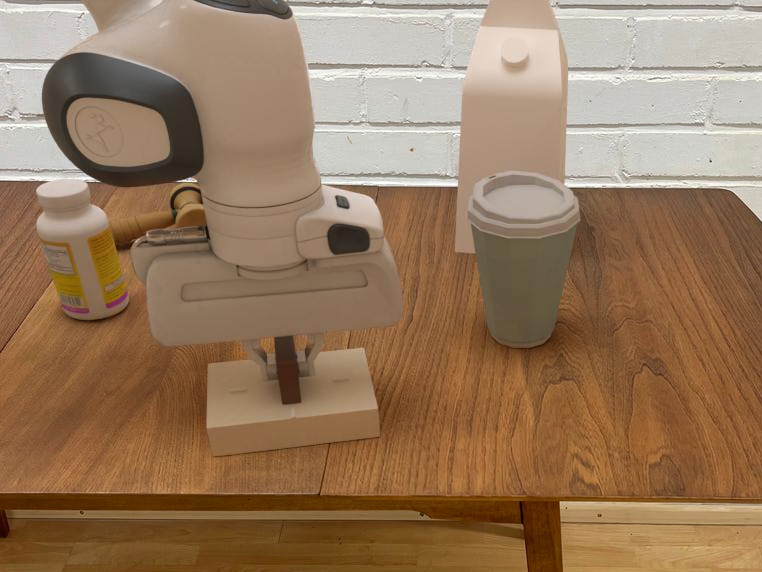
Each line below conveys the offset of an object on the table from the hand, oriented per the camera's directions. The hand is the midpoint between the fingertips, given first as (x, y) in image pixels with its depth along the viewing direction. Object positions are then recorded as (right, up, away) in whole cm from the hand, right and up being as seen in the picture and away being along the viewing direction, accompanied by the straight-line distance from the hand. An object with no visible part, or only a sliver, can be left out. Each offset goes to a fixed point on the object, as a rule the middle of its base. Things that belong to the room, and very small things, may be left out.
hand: (288, 375), depth 77 cm
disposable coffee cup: (+20, +6, +14) cm, 25 cm away
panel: (0, -3, +2) cm, 4 cm away
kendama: (-19, +20, +30) cm, 41 cm away
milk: (+20, +21, +32) cm, 43 cm away
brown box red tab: (0, -1, 0) cm, 1 cm away
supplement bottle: (-24, +9, +17) cm, 30 cm away
